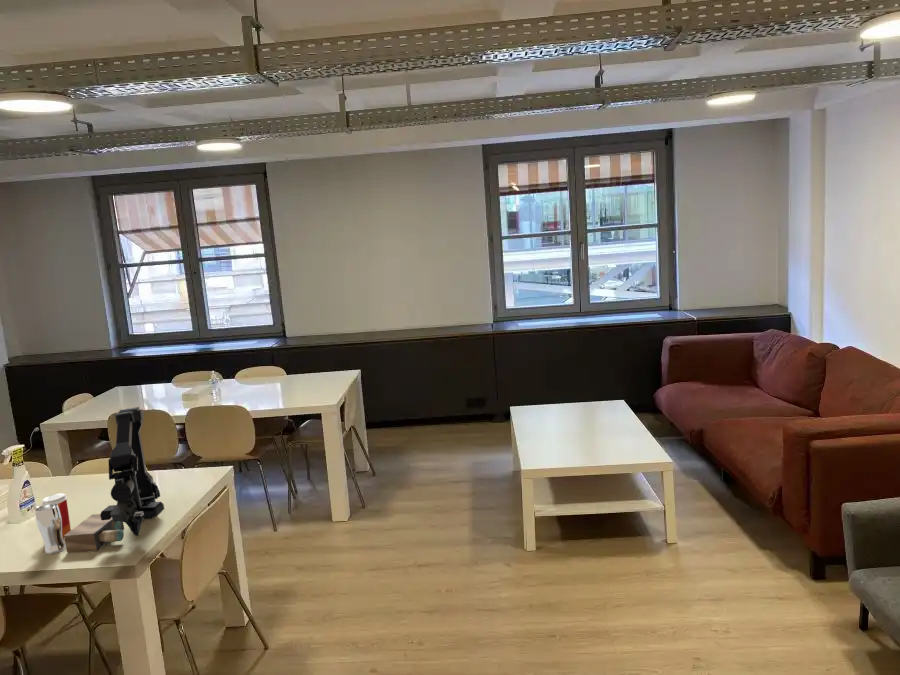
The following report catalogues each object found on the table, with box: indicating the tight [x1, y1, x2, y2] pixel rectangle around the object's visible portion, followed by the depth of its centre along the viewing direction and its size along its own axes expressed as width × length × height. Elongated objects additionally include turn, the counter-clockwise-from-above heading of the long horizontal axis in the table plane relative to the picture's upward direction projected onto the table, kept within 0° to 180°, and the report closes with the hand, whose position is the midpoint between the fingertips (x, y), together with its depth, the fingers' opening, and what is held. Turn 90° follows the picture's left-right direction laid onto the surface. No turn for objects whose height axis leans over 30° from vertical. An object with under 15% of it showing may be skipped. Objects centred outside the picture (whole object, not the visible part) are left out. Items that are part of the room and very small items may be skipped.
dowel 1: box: [98, 529, 125, 543], centre depth 222 cm, size 4×9×4 cm, turn 86°
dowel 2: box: [112, 521, 121, 530], centre depth 230 cm, size 4×9×4 cm, turn 86°
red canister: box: [41, 492, 72, 539], centre depth 233 cm, size 8×8×14 cm
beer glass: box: [34, 503, 66, 555], centre depth 221 cm, size 7×7×15 cm
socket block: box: [63, 513, 125, 554], centre depth 226 cm, size 16×10×6 cm, turn 176°
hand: (137, 535), depth 221 cm, fingers closed
